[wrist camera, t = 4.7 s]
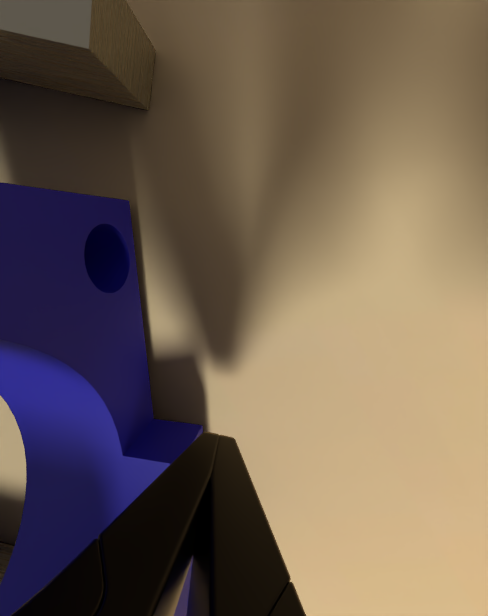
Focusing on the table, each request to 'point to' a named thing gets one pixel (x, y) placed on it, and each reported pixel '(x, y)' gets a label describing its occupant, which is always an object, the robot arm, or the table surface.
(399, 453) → the table surface
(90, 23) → the stop bracket
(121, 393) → the cable clip
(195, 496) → the robot arm
